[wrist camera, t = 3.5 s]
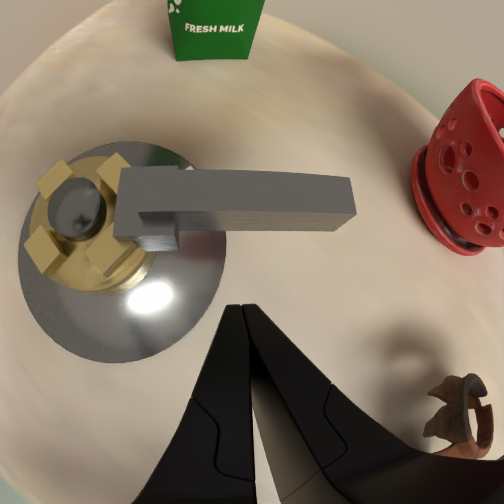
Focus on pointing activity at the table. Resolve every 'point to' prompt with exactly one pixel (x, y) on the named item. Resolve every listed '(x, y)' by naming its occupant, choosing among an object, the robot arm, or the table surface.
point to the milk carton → (213, 28)
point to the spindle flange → (135, 299)
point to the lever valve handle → (173, 215)
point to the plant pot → (464, 172)
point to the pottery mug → (461, 417)
